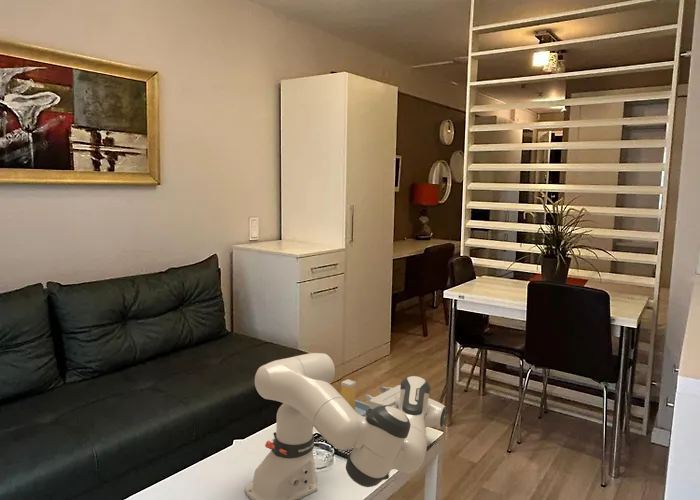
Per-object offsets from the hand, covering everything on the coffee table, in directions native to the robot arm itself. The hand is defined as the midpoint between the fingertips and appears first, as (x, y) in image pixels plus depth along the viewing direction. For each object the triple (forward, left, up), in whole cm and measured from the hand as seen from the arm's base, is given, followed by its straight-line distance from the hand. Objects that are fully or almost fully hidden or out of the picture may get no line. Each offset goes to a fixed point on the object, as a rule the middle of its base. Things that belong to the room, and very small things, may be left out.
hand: (374, 392), depth 195 cm
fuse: (0, +12, -12) cm, 17 cm away
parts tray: (0, +12, -13) cm, 18 cm away
